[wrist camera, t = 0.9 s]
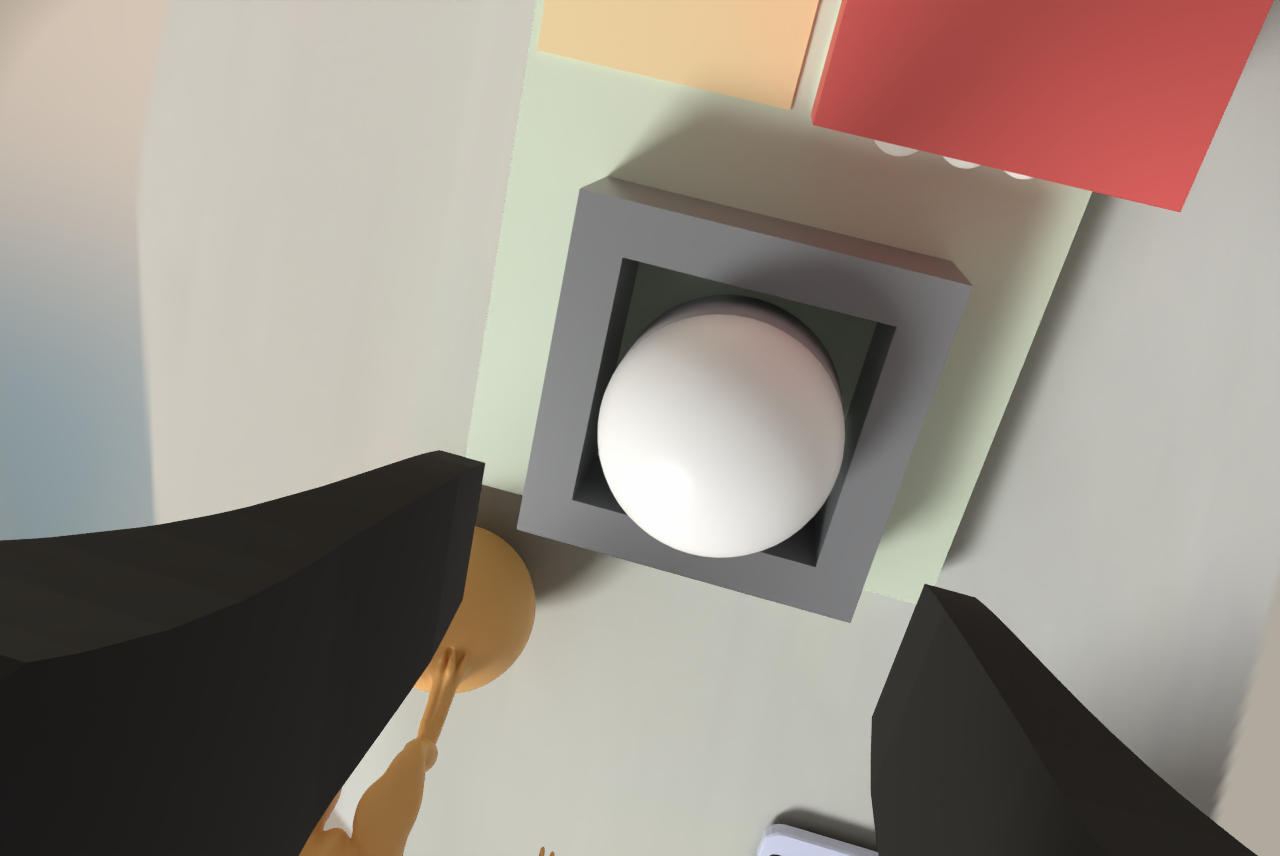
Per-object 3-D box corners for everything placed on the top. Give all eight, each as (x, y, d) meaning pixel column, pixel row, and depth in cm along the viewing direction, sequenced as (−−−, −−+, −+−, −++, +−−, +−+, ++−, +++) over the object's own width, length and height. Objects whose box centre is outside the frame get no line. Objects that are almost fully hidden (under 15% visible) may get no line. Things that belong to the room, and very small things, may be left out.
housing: (845, 564, 20) (850, 622, 18) (547, 482, 21) (516, 529, 19) (951, 261, 18) (973, 286, 15) (607, 176, 18) (579, 188, 16)
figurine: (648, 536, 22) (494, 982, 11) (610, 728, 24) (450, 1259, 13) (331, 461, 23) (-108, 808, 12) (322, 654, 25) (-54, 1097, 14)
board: (920, 580, 21) (926, 609, 20) (478, 459, 22) (460, 480, 21) (1214, -175, 16) (1250, -197, 14) (601, -300, 16) (585, -331, 15)
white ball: (805, 518, 19) (805, 636, 15) (602, 463, 19) (549, 564, 15) (869, 319, 17) (889, 391, 13) (647, 263, 18) (600, 316, 14)
